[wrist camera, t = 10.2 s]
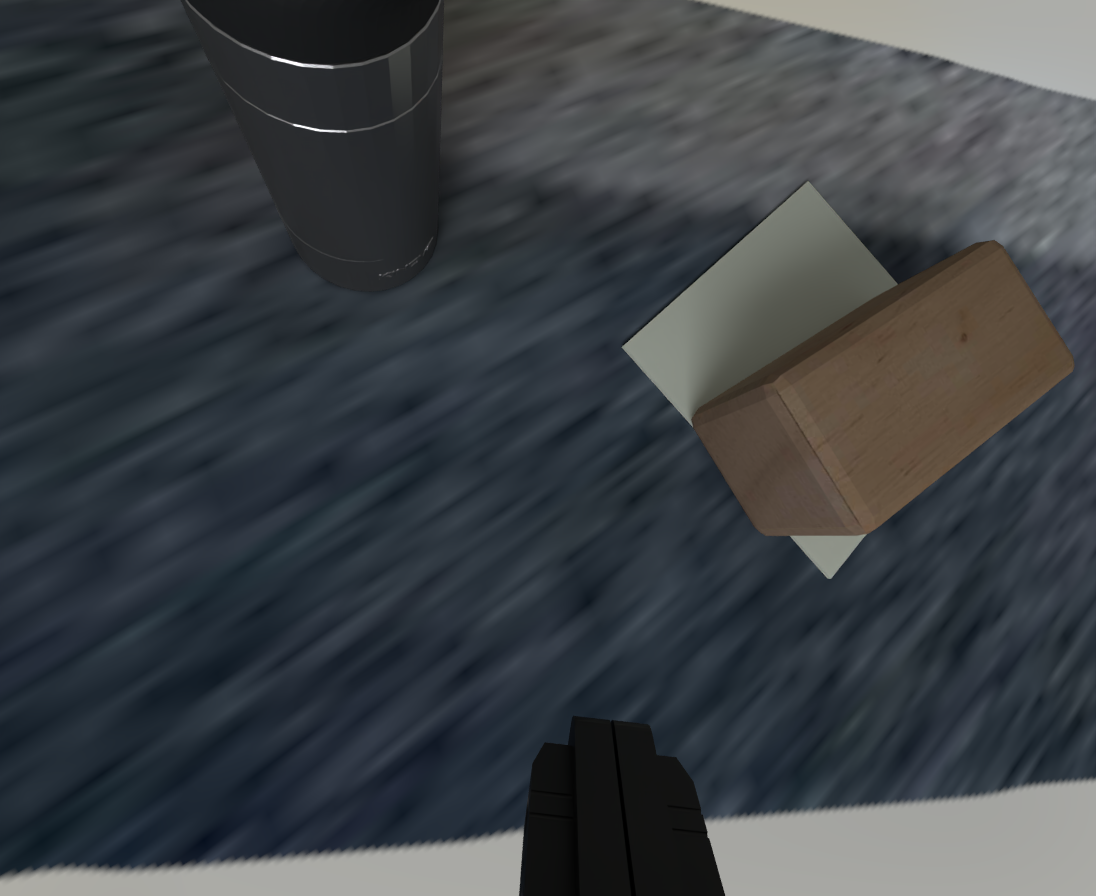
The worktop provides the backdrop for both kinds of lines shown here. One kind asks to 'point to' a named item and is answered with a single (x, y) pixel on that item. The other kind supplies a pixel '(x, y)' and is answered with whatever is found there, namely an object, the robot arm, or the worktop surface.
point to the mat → (762, 316)
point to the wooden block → (884, 398)
